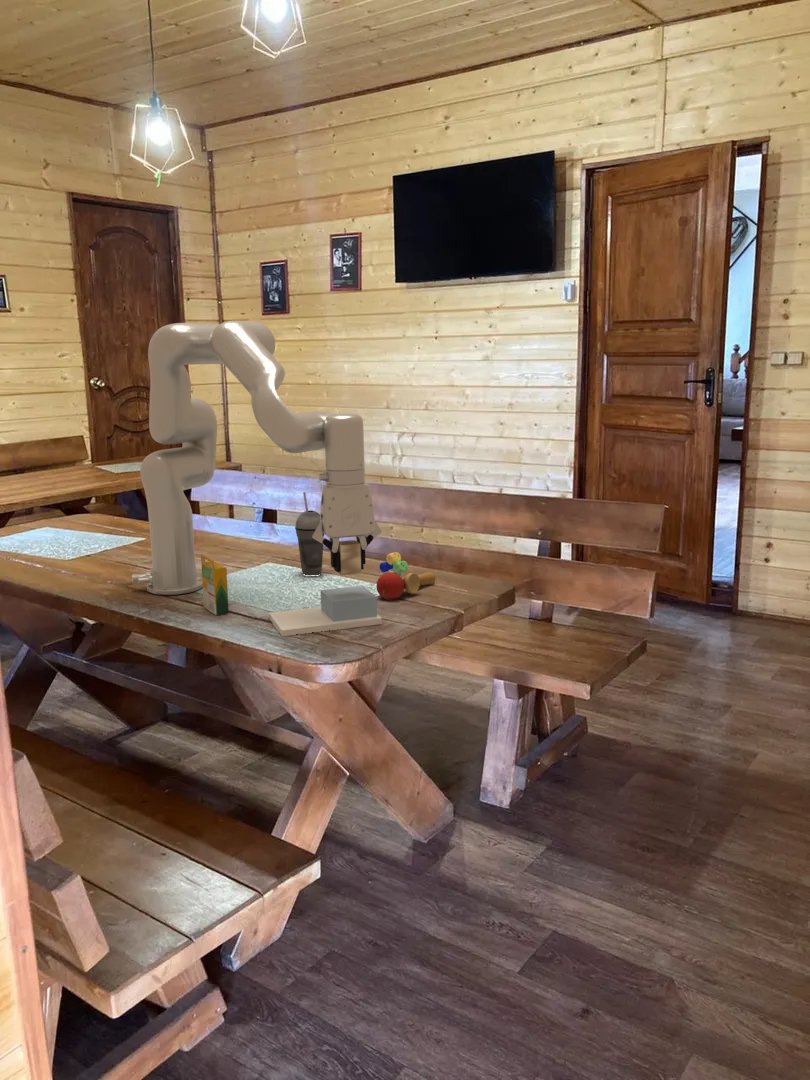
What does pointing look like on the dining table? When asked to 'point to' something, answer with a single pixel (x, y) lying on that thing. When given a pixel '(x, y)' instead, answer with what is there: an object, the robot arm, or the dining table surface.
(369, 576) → the dining table surface
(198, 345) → the robot arm
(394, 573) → the kendama
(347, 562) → the birch block
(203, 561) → the crayon box
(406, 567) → the dice
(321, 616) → the baseplate
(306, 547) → the beverage cup
